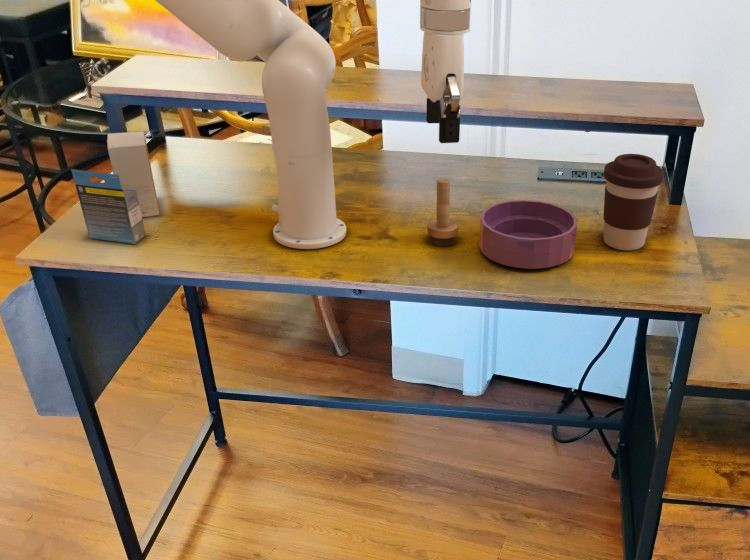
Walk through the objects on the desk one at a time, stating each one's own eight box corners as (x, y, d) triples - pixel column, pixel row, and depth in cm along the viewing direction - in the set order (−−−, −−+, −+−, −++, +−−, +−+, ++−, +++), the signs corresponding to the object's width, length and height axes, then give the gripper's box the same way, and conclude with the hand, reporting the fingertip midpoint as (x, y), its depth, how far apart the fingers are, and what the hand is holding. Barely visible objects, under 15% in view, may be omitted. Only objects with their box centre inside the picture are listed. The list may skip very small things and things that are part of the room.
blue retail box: (147, 235, 144) (132, 166, 137) (135, 245, 141) (119, 175, 133) (100, 229, 145) (84, 160, 138) (87, 238, 142) (69, 168, 135)
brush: (420, 240, 146) (420, 179, 139) (442, 231, 149) (443, 172, 143) (442, 250, 143) (443, 189, 136) (464, 240, 146) (466, 180, 140)
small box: (160, 215, 151) (146, 144, 143) (122, 219, 149) (106, 148, 141) (158, 199, 157) (144, 130, 149) (122, 202, 155) (106, 133, 147)
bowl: (460, 251, 143) (460, 218, 139) (519, 223, 153) (522, 192, 149) (534, 282, 134) (536, 248, 131) (592, 251, 144) (596, 219, 141)
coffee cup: (614, 226, 153) (625, 145, 145) (662, 242, 148) (676, 159, 139) (584, 243, 147) (594, 160, 138) (633, 260, 142) (646, 175, 133)
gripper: (409, 7, 131) (409, 116, 141) (432, 32, 118) (430, 151, 127) (456, 7, 133) (453, 115, 143) (483, 32, 119) (477, 149, 129)
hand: (442, 132), depth 135 cm, fingers open, 9 cm apart
